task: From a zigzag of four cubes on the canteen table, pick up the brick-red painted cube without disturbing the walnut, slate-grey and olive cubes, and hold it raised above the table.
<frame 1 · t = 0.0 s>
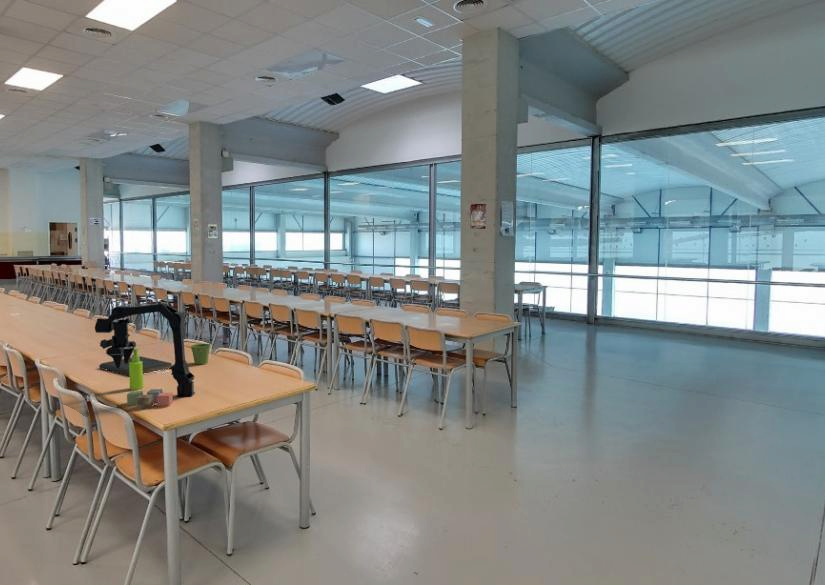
hand: (122, 365, 252), 15 cm above the table, tool pointing down, fingers open, 9 cm apart
plant pot: (201, 363, 323), on the table
slate cube: (155, 401, 246), on the table
walnut cube: (145, 407, 237), on the table
soap dispenser: (135, 388, 267), on the table
closed laptop: (136, 369, 309), on the table
red cube: (165, 405, 241), on the table
olive cube: (135, 403, 243), on the table
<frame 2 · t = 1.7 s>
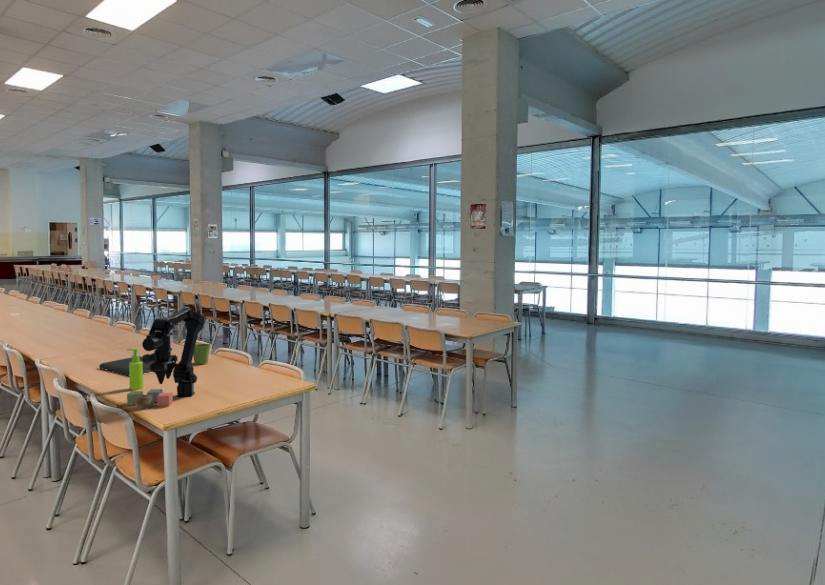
hand: (164, 381, 240), 11 cm above the table, tool pointing down, fingers open, 9 cm apart
nothing on the table moved.
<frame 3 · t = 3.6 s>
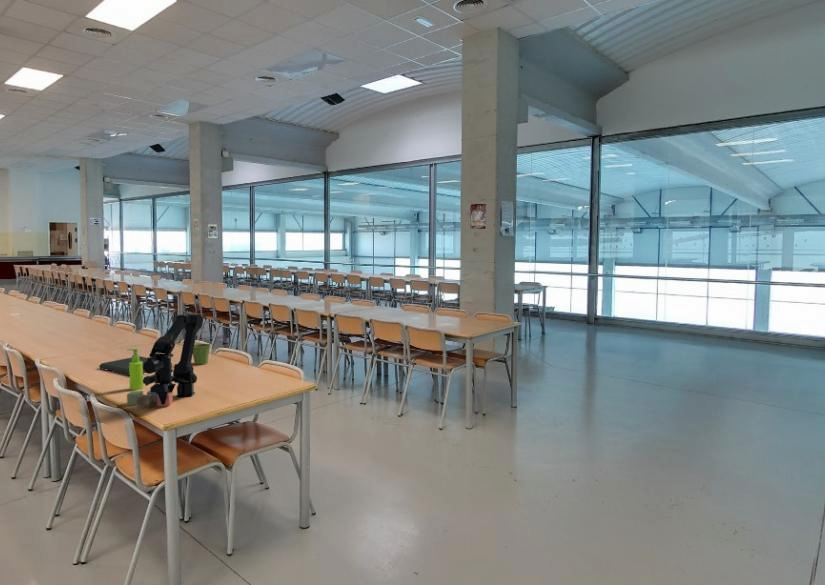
hand: (165, 402, 241), 1 cm above the table, tool pointing down, fingers closed on red cube, 5 cm apart
red cube: (165, 404, 241), on the table, touching gripper
everything else where it was.
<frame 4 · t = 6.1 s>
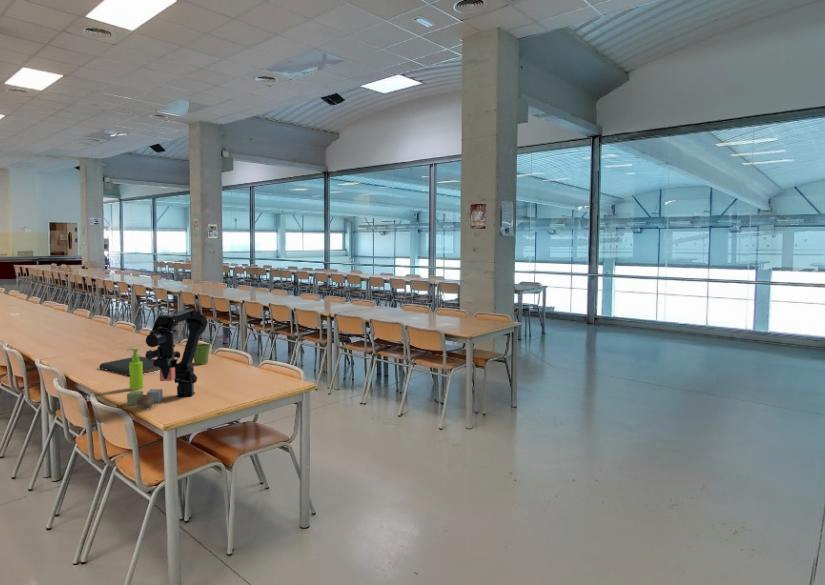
hand: (167, 377, 242), 12 cm above the table, tool pointing down, fingers closed on red cube, 5 cm apart
red cube: (167, 379, 242), point 11 cm above the table, touching gripper
everything else where it was.
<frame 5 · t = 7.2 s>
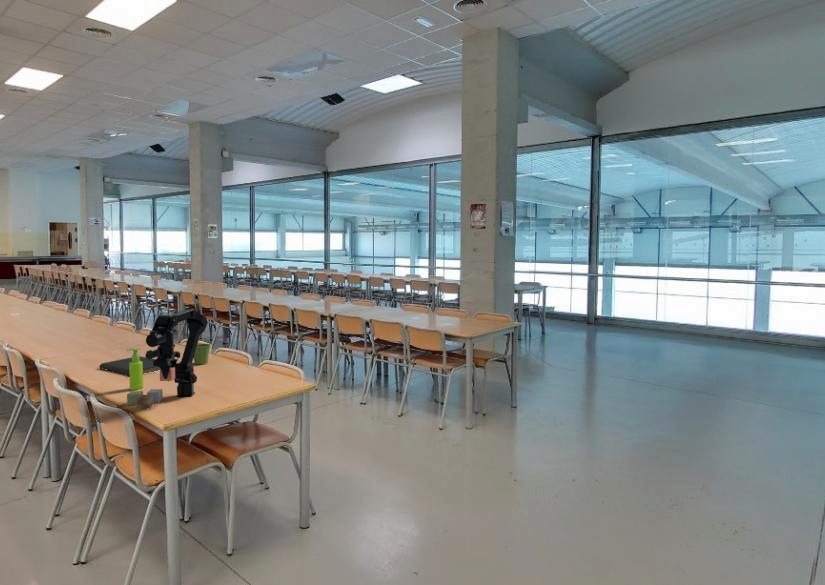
hand: (167, 377, 242), 12 cm above the table, tool pointing down, fingers closed on red cube, 5 cm apart
red cube: (167, 379, 242), point 11 cm above the table, touching gripper
everything else where it was.
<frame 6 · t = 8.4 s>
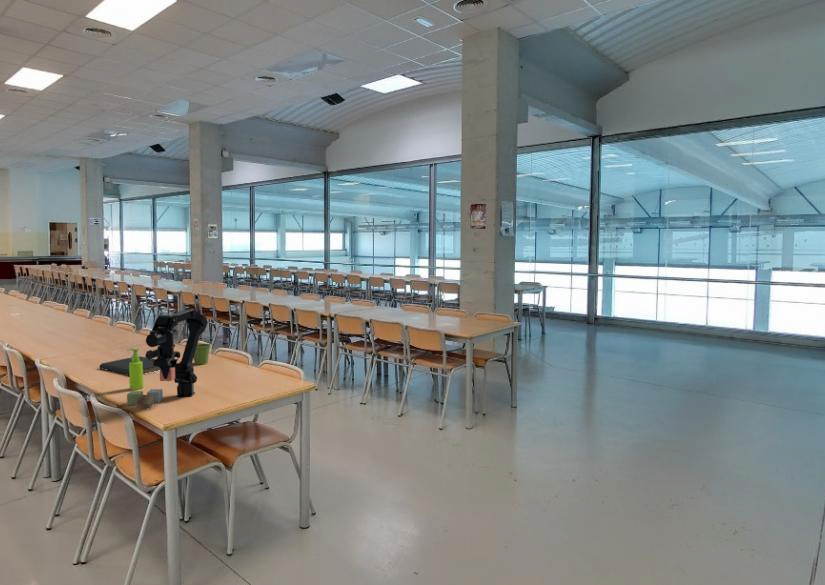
hand: (167, 377, 242), 12 cm above the table, tool pointing down, fingers closed on red cube, 5 cm apart
red cube: (167, 379, 242), point 11 cm above the table, touching gripper
everything else where it was.
at the end: the gripper is holding red cube; red cube point 10.9 cm above the table; slate cube moved 0.1 cm from its start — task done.
